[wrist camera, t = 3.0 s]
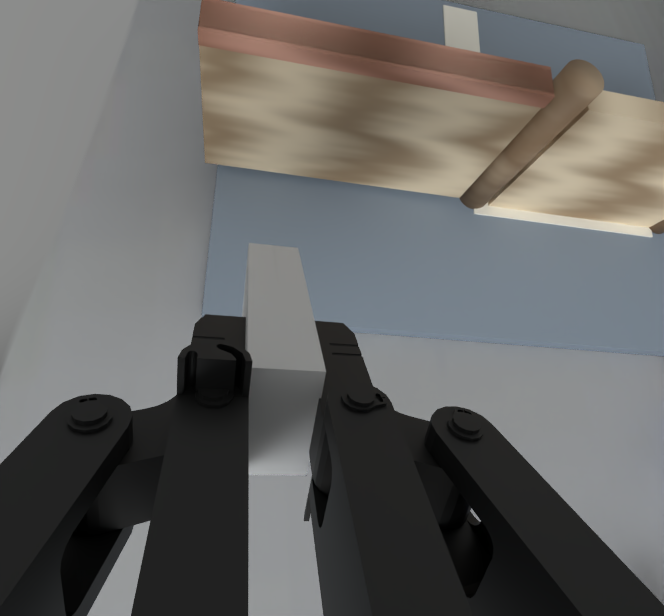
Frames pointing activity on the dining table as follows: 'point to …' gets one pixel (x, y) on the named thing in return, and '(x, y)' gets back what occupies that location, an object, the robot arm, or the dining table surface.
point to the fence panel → (356, 101)
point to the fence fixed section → (583, 157)
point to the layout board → (450, 220)
